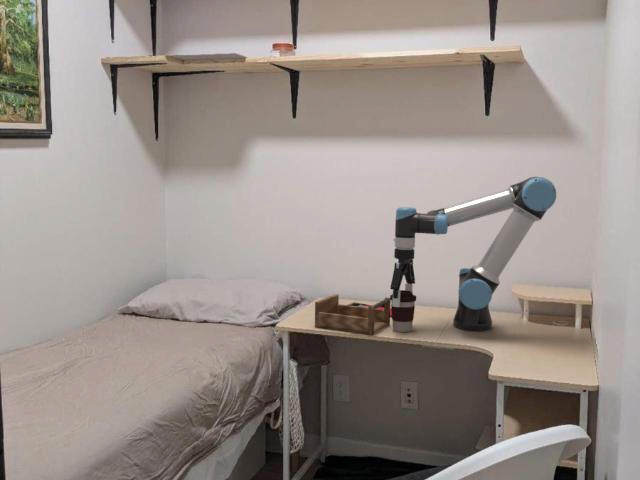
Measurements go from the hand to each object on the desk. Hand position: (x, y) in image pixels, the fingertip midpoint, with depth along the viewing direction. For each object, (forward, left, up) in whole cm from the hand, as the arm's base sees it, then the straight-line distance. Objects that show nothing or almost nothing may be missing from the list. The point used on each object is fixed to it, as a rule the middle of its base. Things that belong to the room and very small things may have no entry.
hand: (402, 303), depth 265 cm
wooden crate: (+19, +4, -10) cm, 22 cm away
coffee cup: (0, 0, -11) cm, 11 cm away
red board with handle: (+21, -27, -11) cm, 36 cm away
